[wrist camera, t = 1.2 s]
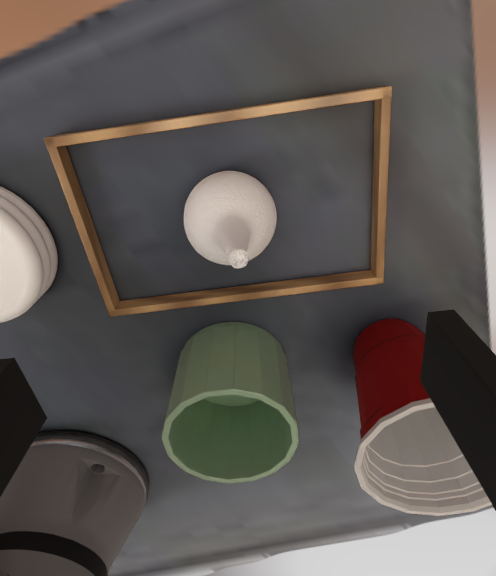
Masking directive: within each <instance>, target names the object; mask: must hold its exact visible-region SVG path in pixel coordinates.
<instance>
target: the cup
mask: <svg viewBox="0 0 496 576" xmlns="http://www.w3.org/2000/svg"><path fill="white" fill-rule="evenodd" d="M161 439H162V441H163V444H164V447H165V450H166V453H167V455H168V457H169V458H170V459H171V460H172V461H174V462H175V463H176V464H177V465H178V466H179V467H180V468H181V469H182V470H183V471H185V472H187V473H190V474H192V475H194V476H196V477H199V478H201V479H203V480H208V481H214V482H221V483H229V484H230V483H240V482H250V481H255V480H257V479H260V478H263V477H265V476H268V475H271V474H273V473H275V472H276V471H278V470H279V469H280V468H281V467H282V466H284V465H285V464H286V463H287V462H289V461H290V460H291V458H292V456H293V454H294V452H295V450H296V448H297V446H298V443H299V437H298V427H297V420H296V413H295V407H294V401H293V395H292V388H291V382H290V376H289V369H288V363H287V357H286V355H285V352H284V350H283V348H282V346H281V344H280V343H279V342H278V340H277V339H276V338H275V337H274V336H272V335H271V334H270V333H269V332H267V331H266V330H264V329H262V328H260V327H257V326H255V325H252V324H248V323H243V322H222V323H217V324H213V325H210V326H208V327H205V328H203V329H202V330H200V331H198V332H197V333H196V334H194V335H193V336H192V337H191V338H190V339H189V340H188V341H187V342H186V344H185V345H184V347H183V349H182V351H181V354H180V358H179V362H178V367H177V371H176V375H175V380H174V384H173V388H172V393H171V397H170V401H169V406H168V410H167V414H166V418H165V423H164V427H163V432H162V436H161Z"/></svg>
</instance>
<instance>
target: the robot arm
mask: <svg viewBox="0 0 496 576" xmlns="http://www.w3.org/2000/svg"><path fill="white" fill-rule="evenodd" d="M420 382H421V384H422V385H423V387H424V389H425V390H426V392H427V394H428V396H429V397H430V399H431V401H432V402H433V404H434V406H435V408H436V409H437V411H438V413H439V414H440V416H441V418H442V420H443V421H444V423H445V425H446V426H447V428H448V430H449V431H450V433H451V435H452V437H453V438H454V440H455V442H456V443H457V445H458V447H459V449H460V450H461V452H462V454H463V455H464V457H465V459H466V461H467V462H468V464H469V466H470V467H471V469H472V471H473V473H474V474H475V476H476V478H477V479H478V481H479V483H480V485H481V486H482V488H483V490H484V491H485V493H486V495H487V497H488V498H489V500H490V502H491V503H492V505H493V507H494V509H495V510H496V355H495V354H494V353H493V352H492V351H491V350H490V349H489V347H488V346H487V345H486V344H485V343H484V342H483V341H482V340H481V339H480V338H479V337H478V335H477V334H476V333H475V332H474V331H473V330H472V329H471V328H470V327H469V326H468V325H467V323H466V322H465V321H464V320H463V319H462V318H461V317H460V316H459V315H458V314H457V313H456V311H455V310H446V311H437V312H428V317H427V325H426V333H425V342H424V350H423V358H422V366H421V375H420ZM46 419H47V417H46V415H45V413H44V411H43V409H42V408H41V406H40V404H39V402H38V400H37V398H36V397H35V395H34V393H33V391H32V389H31V387H30V386H29V384H28V382H27V380H26V378H25V376H24V375H23V373H22V371H21V369H20V367H19V365H18V364H17V362H16V360H15V358H9V359H0V576H108V572H109V569H110V567H111V565H112V563H113V561H114V560H115V558H116V556H117V554H118V553H119V551H120V549H121V548H122V546H123V544H124V543H125V541H126V539H127V537H128V536H129V534H130V532H131V530H132V529H133V527H134V525H135V523H136V522H137V520H138V518H139V517H140V515H141V513H142V510H143V508H144V506H145V502H146V498H147V494H148V489H149V480H148V476H147V473H146V471H145V469H144V467H143V466H142V464H141V463H140V462H139V461H138V459H137V458H136V457H135V456H134V455H132V454H131V453H130V452H129V451H127V450H126V449H124V448H123V447H121V446H119V445H118V444H116V443H114V442H112V441H109V440H107V439H105V438H102V437H99V436H95V435H92V434H87V433H82V432H75V431H49V432H43V433H39V431H40V429H41V427H42V426H43V424H44V422H45V421H46Z"/></svg>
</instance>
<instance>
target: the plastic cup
mask: <svg viewBox="0 0 496 576" xmlns="http://www.w3.org/2000/svg"><path fill="white" fill-rule="evenodd" d="M424 342H425V334H424V333H422V332H421V331H420V330H419V329H418V328H417V327H416V326H414V325H412V324H411V323H408V322H406V321H403V320H401V319H384V320H381V321H378V322H374V323H372V324H371V325H370V326H368V327H367V328H365V329H364V330H362V332H361V333H360V335H359V336H358V337H357V339H356V341H355V346H354V353H353V358H354V364H355V370H356V377H355V379H356V387H357V396H358V404H359V412H360V421H361V430H360V433H361V440H360V444H359V448H358V451H357V455H356V459H355V464H354V469H355V472H356V475H357V477H358V480H359V482H360V485H361V488H362V489H363V490H365V491H366V492H367V493H368V494H369V495H371V496H372V497H373V498H374V499H375V500H377V501H378V502H379V503H380V504H383V505H386V506H389V507H391V508H394V509H397V510H400V511H403V512H406V513H412V514H424V515H436V516H442V515H450V514H457V513H465V512H472V511H476V510H479V509H481V508H484V507H487V506H489V505H492V503H491V502H490V500H489V498H488V497H487V495H486V493H485V491H484V490H483V488H482V486H481V485H480V483H479V481H478V479H477V478H476V476H475V474H474V473H473V471H472V469H471V467H470V466H469V464H468V462H467V461H466V459H465V457H464V455H463V454H462V452H461V450H460V449H459V447H458V445H457V443H456V442H455V440H454V438H453V437H452V435H451V433H450V431H449V430H448V428H447V426H446V425H445V423H444V421H443V420H442V418H441V416H440V414H439V413H438V411H437V409H436V408H435V406H434V404H433V402H432V401H431V399H430V397H429V396H428V394H427V392H426V390H425V389H424V387H423V385H422V384H421V382H420V375H421V366H422V358H423V350H424Z"/></svg>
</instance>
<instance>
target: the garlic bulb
mask: <svg viewBox="0 0 496 576" xmlns="http://www.w3.org/2000/svg"><path fill="white" fill-rule="evenodd" d="M276 221H277V214H276V207H275V204H274V201H273V198H272V197H271V195H270V193H269V192H268V190H267V189H266V188H265V187H264V185H263V184H261V183H260V182H259V181H258V180H257V179H255V178H253V177H252V176H250V175H248V174H245V173H242V172H238V171H222V172H218V173H214V174H212V175H209V176H208V177H206V178H204V179H203V180H202V181H200V182H199V183H198V184H197V185H196V186H195V187H194V188H193V190H192V191H191V193H190V195H189V197H188V199H187V201H186V204H185V209H184V228H185V232H186V235H187V238H188V240H189V242H190V243H191V245H192V246H193V247H194V249H195V250H196V251H197V252H198V253H199V254H200V255H202V256H203V257H204V258H206V259H208V260H210V261H212V262H214V263H218V264H223V265H232V267H233V268H236V269H237V268H242V267H245V266H246V265H247V264H248V262H247V261H249V260H251V259H253V258H255V257H256V256H258V255H259V254H260V253H261V252H262V251H263V250H264V249H265V248H266V247H267V245H268V244H269V242H270V241H271V239H272V237H273V235H274V232H275V228H276Z"/></svg>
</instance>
